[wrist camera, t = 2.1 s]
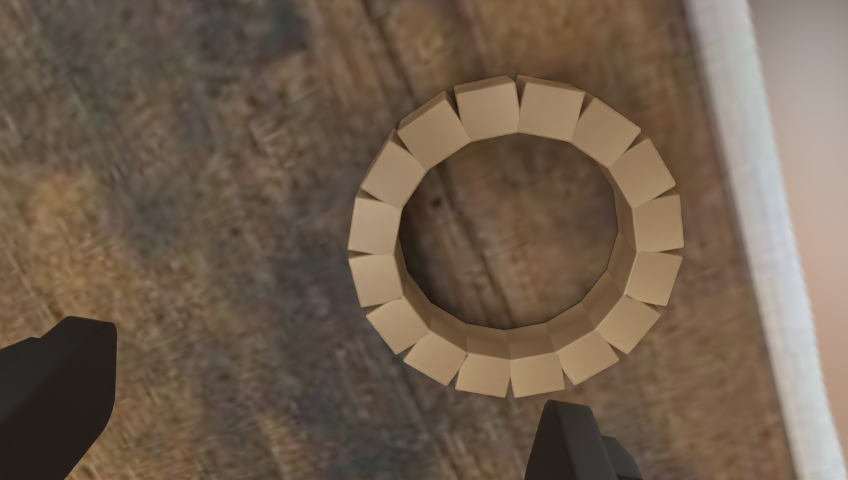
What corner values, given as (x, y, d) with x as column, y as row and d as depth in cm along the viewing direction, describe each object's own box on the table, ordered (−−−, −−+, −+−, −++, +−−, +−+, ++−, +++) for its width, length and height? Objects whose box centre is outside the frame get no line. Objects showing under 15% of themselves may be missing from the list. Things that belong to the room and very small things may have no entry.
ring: (296, 192, 24) (281, 211, 22) (560, 9, 22) (575, 8, 20) (464, 410, 27) (467, 446, 25) (712, 268, 25) (740, 293, 22)
